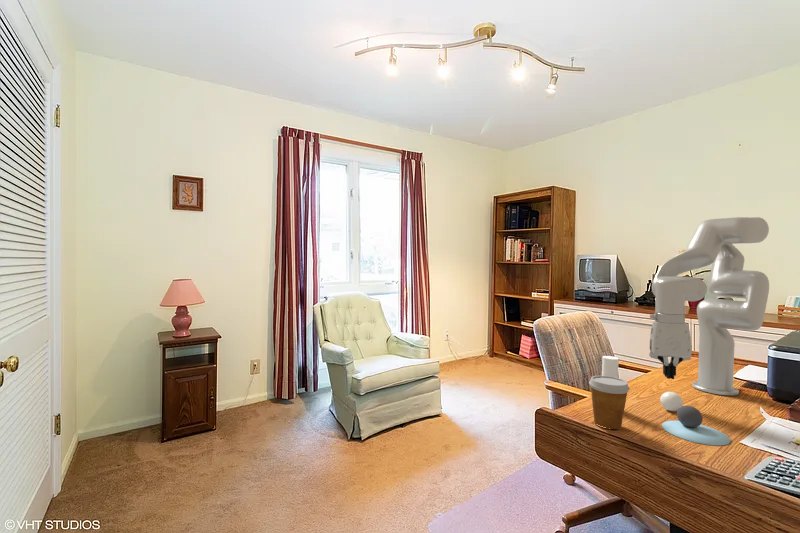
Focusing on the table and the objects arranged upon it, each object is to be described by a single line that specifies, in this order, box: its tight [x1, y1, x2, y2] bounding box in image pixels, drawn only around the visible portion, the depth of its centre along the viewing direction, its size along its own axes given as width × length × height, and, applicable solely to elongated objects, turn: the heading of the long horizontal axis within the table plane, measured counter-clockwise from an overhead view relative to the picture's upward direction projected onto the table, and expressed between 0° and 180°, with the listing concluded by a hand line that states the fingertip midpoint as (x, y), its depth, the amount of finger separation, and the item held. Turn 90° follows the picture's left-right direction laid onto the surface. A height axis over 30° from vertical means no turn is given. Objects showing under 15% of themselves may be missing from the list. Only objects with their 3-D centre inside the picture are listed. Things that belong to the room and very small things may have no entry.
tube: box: [601, 355, 620, 378], centre depth 116 cm, size 4×4×15 cm
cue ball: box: [659, 391, 684, 412], centre depth 115 cm, size 6×6×6 cm
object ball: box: [676, 405, 704, 428], centre depth 104 cm, size 6×6×6 cm
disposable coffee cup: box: [588, 375, 631, 430], centre depth 104 cm, size 10×10×12 cm
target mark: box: [661, 420, 731, 447], centre depth 100 cm, size 14×14×1 cm
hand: (669, 377), depth 121 cm, fingers closed
